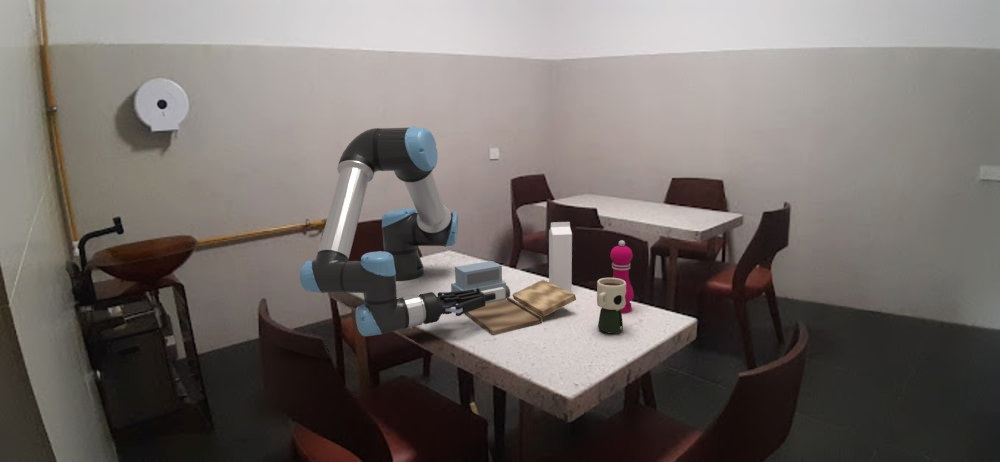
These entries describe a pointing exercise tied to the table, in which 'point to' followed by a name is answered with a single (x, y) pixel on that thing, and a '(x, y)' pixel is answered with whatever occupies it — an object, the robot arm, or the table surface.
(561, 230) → the milk
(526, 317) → the flatbed
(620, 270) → the pepper mill
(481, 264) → the cab
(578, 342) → the table surface
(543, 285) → the side gate
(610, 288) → the character mug
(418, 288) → the table surface
